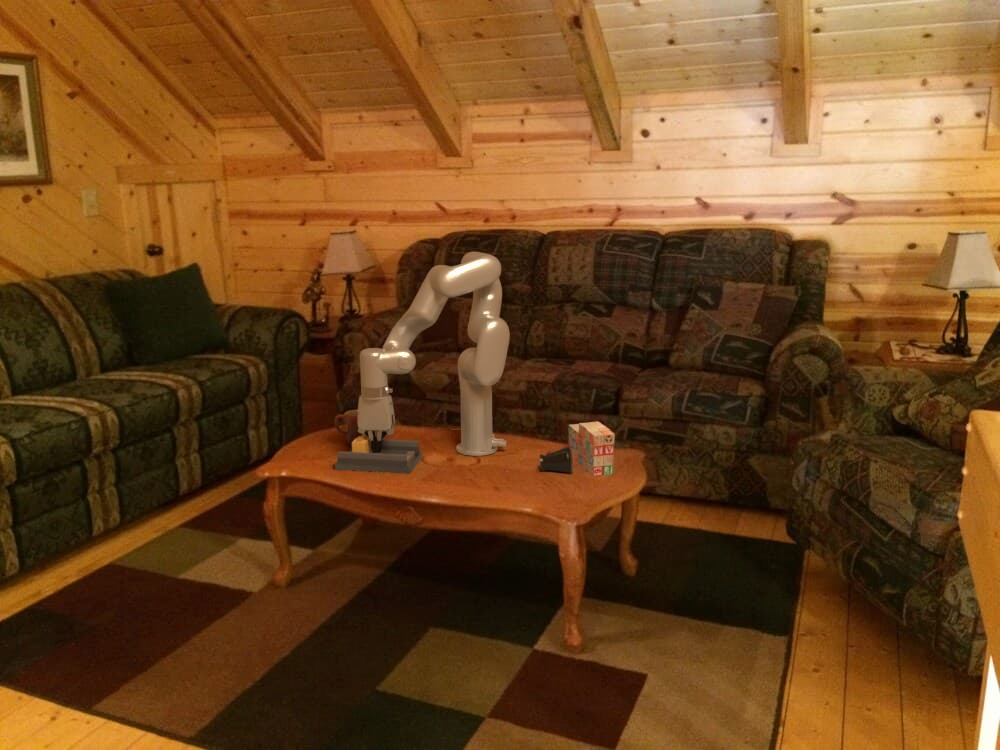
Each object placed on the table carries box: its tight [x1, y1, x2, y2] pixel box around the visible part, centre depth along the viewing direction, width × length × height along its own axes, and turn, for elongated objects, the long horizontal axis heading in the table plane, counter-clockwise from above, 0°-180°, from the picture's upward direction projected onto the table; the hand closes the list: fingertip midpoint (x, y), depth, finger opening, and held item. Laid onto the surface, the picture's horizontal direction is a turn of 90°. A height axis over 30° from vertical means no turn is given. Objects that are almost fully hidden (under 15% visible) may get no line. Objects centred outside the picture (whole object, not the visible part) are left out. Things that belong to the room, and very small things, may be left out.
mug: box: [334, 408, 362, 447], centre depth 265 cm, size 12×9×10 cm
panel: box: [334, 447, 423, 475], centre depth 247 cm, size 22×14×3 cm, turn 80°
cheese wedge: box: [351, 434, 372, 453], centre depth 247 cm, size 4×6×6 cm, turn 170°
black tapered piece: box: [539, 446, 574, 474], centre depth 245 cm, size 8×18×8 cm
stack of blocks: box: [567, 421, 616, 478], centre depth 245 cm, size 21×6×12 cm, turn 14°
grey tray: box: [337, 438, 420, 467], centre depth 247 cm, size 20×15×3 cm
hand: (377, 452), depth 247 cm, fingers closed
